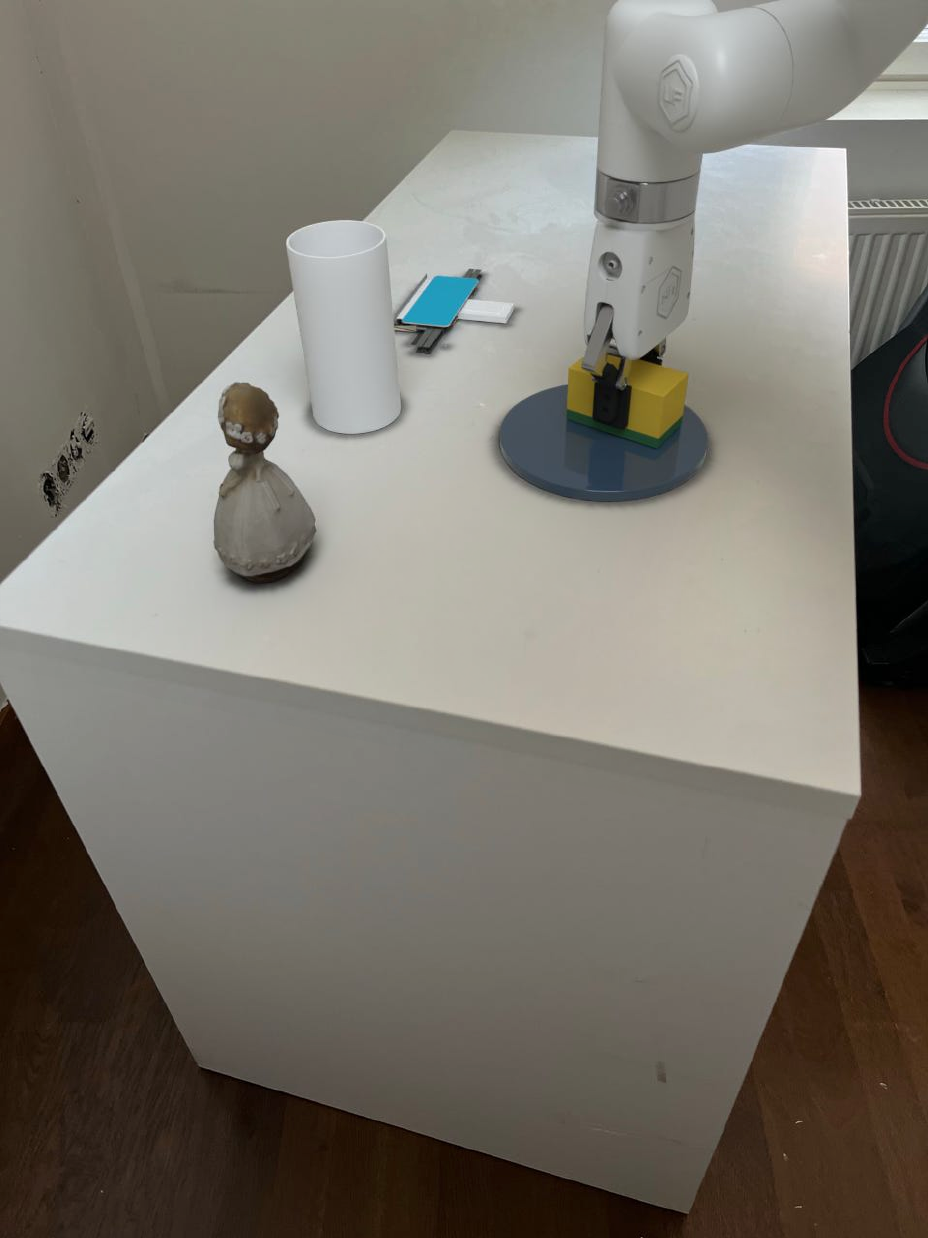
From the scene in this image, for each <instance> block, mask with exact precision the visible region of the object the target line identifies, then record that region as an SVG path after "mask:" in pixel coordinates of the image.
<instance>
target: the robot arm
mask: <svg viewBox="0 0 928 1238" xmlns="http://www.w3.org/2000/svg"><path fill="white" fill-rule="evenodd" d="M927 26H928V0H775V1H770V2H764V3H759V4H756V5H751V6H745V7H740V8H738V9H731V10H726V11H725V10H724V11H721V12H720V11H719V10H718V8H717V6H716V4H715V3H714V2H713V1H712V0H617V1H616V2H615V3H614V4H613V5H612V6H611V7H610V10H609V11H608V14H607V16H606V20H605V25H604V35H603V51H602V52H603V53H602V67H601V86H600V102H599V118H598V119H599V121H598V122H599V123H598V134H597V135H598V136H597V152H596V154H597V155H596V171H595V184H594V185H595V186H594V202H593V203H594V204H593V215H594V217H595V218H596V219H597V221H596V224H595V228H594V234H593V239H592V245H591V250H590V257H589V265H588V271H587V279H586V289H585V299H584V309H583V310H584V312H583V339H584V343H585V345H586V349H585V351H584V355H583V356H582V357H583V360H582V363H581V368H582V369H584V370H585V371H587V372H589V373H590V374H591V375H592V381H593V382H595V383H594V398H593V412H592V418H593V420H594V421H596V422H599V423H602V424H605V425H608V426H611V427H614V428H617V429H620V430H623V429H625V428H626V427H627V426H628V419H629V409H630V399H631V389H632V386H630V385H627V383H628V378H629V373H630V368H631V364H632V360H636V359H640V360H643V361H647V362H650V363H654V364H657V365H661V366H663V359H661V358H663V357H664V355H665V353H666V351H667V338H668V337H669V336H670V335H671V334H672V333H673V332H675V330H677V329H678V328H680V326H681V325H682V324H683V323H684V322H685V320H686V318H687V316H688V314H689V309H690V302H691V301H690V300H691V289H692V279H693V270H694V269H693V268H694V257H695V256H694V255H695V234H696V228H695V227H696V226H695V225H696V224H695V222H696V221H695V220H696V218H695V217H696V209H697V201H698V194H699V193H698V192H699V187H700V178H701V171H702V165H703V164H702V162H703V156H704V155H707V154H716V153H720V152H724V151H729V150H732V149H735V148H739V147H743V146H747V145H750V144H753V143H756V142H759V141H762V140H765V139H769V138H772V137H776V136H781V135H784V134H788V133H791V132H794V131H798V130H804V129H806V128H810V127H814V126H816V125H819V124H821V123H823V122H825V121H826V120H829V119H830V118H833V117H834V116H835V115H837V114H839V113H840V112H841V111H843V110H844V109H845V108H847V107H848V106H849V105H850V104H851V103H853V102H854V101H855V100H857V98H859V97H860V96H861V95H862V94H863V93H864V92H865V91H866V90H868V88H869V87H870V86H871V85H872V84H873V83H874V82H875V81H876V80H877V79H878V78H879V77H880V76H881V75H882V74H883V73H884V72H885V71H886V70H887V69H888V68H889V67H891V65H892V64H893V63H894V62H895V61H896V60H897V59H898V58H899V57H900V56H901V55H902V54H903V53H904V52H905V51H906V50H907V49H908V47H910V46H911V44H912V43H913V42H914V41H915V40H916V39H917V38H918V37H919V35H920V34H921V33H922V32H923V31H924V30H925V28H926V27H927ZM612 340H614V343H615V344H613V343H611V342H612ZM608 354H609V355H612V356H616V357H619V358H620V363H619V368H618V370H617V368H616V367H615V366H614V365H613V364H610V363H608V362H607V358H608Z"/></svg>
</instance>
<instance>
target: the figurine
mask: <svg viewBox="0 0 928 1238" xmlns="http://www.w3.org/2000/svg"><path fill="white" fill-rule="evenodd" d="M279 417H280V413H279V412H278V408H277V406H276V404H275V402H274V401H273V400H272V399H271V398H270V396H269V394H268V392H266V391H264V390H263V389H262V388H261V387H257V386H254V385H252V384H250V383H249V382H239V381H235V382H232V383H230V384H229V385H227V386H226V387H225V388H224V389H223V391H222V392H221V396H220V398H219V400H218V411H217V420H218V424H219V427H220V429H221V431H222V433H223V435H224V439H225V443H226V444H227V446H228V447H231V448H234V449H235V450H233V451H232V452H231V453H230V454H229V455H228V459H227V460H228V465H229V468H230V469H229V470H228V472H227V474H226V475H225V477H224V479H223V481H222V483H220V485H219V489H218V490H219V491H218V498H217V502H216V506H215V509H214V515H213V547H214V550H215V551H216V552H217V555H218V558H219V559H220V561H221V562H222V563H223V565H224V566H226V567H227V568H229V569H230V570H232V571H233V572H234V573H236V575H237V576H239V577H242V578H245V579H247V580H249V581H251V582H255V583H262V584H263V583H271V582H275V581H278V580H281V578H284V577H285V576H287V575H289V574H290V573H291V572H293V571H294V570H295V569H297V568H298V566H299V565H300V564H301V563H302V559H303V557H304V555H305V554H306V552H307V551H308V549H309V548H310V547H311V543H312V541H313V539H314V538H315V534H316V533H317V531H318V530H317V526H316V517H315V513H314V512H313V509H312V507H311V505H310V504H309V503H308V501H307V500H306V498H305V497H304V494H303V493H302V492H301V490H300V489H299V487H298V486H297V485H296V484H295V482H294V480H293V479H292V478H291V477H290V476H289V475H288V473H287V472H286V471H284V470H283V469H282V468H281V467H279V465H278V464H277V463H274V462H272V461H270V460H268V459H267V458H266V457H265V452H264V451H266V449H267V448H268V447H269V446H270V445H271V443H272V442H273V440H274V439H275V437H276V433H277V430H278V429H279V421H278V420H279Z"/></svg>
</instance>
